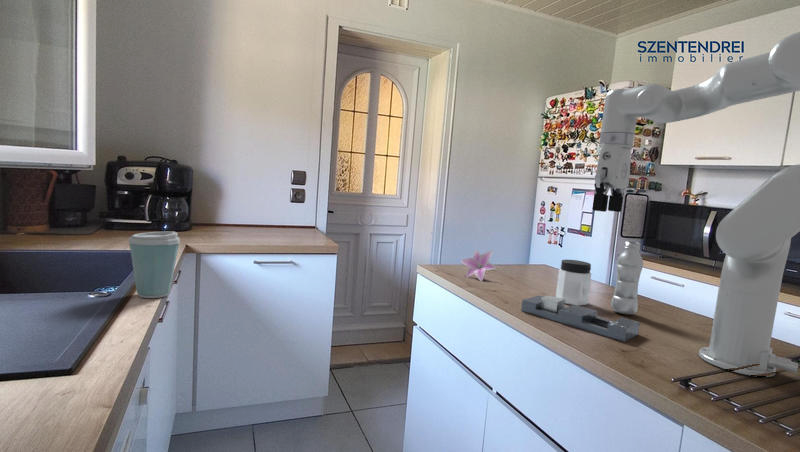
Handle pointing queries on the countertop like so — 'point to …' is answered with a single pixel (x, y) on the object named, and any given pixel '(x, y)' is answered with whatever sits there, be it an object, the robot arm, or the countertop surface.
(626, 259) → the plastic bottle
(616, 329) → the rail
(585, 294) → the jar
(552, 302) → the nut
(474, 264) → the lily
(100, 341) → the countertop surface
